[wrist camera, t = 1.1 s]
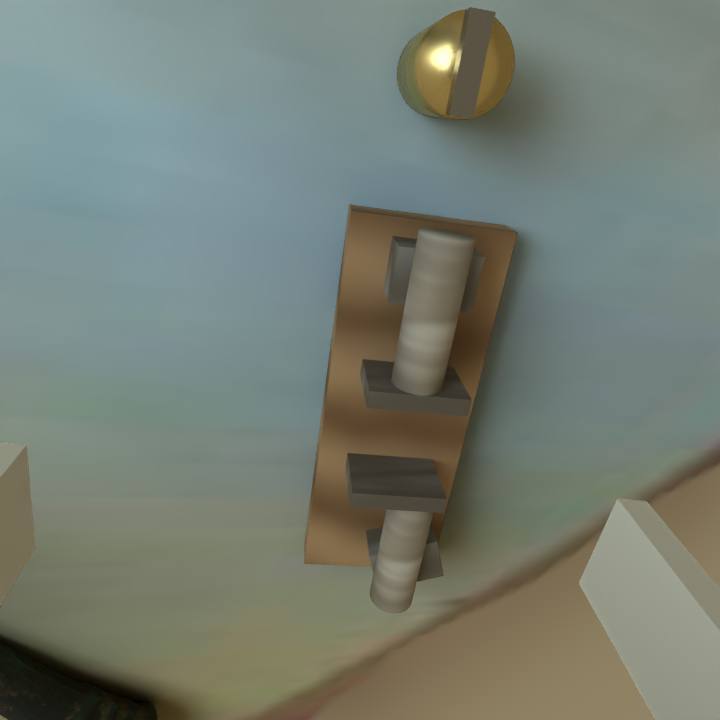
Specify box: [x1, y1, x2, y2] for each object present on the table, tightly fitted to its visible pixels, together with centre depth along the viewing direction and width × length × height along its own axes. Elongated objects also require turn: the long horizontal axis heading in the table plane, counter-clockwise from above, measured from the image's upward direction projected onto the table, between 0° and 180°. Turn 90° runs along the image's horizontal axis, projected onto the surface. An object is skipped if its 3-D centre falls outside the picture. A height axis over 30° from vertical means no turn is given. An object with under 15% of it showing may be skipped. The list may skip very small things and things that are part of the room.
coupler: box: [397, 7, 515, 119], centre depth 25 cm, size 4×4×7 cm
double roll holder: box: [305, 205, 517, 613], centre depth 33 cm, size 24×9×6 cm, turn 172°
